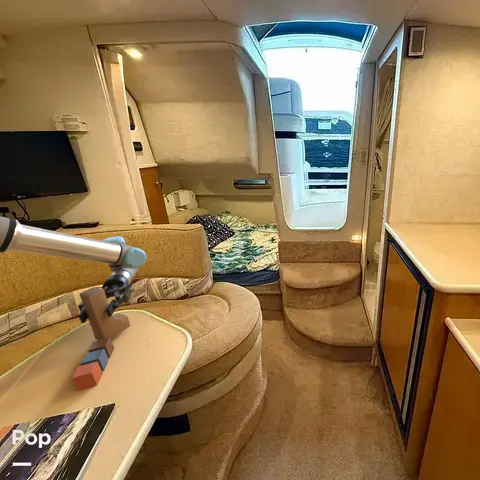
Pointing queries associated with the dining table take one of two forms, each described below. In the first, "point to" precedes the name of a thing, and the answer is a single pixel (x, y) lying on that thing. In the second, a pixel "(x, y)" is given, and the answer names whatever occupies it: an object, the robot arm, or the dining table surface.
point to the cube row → (93, 364)
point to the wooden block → (102, 315)
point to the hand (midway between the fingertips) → (95, 316)
